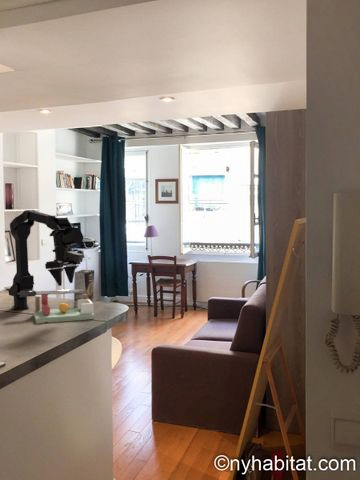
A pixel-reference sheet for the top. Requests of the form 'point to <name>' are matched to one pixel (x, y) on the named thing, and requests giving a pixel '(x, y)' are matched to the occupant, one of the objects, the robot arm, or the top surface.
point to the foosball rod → (45, 296)
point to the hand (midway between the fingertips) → (65, 284)
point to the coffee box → (84, 285)
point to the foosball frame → (56, 315)
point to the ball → (63, 307)
